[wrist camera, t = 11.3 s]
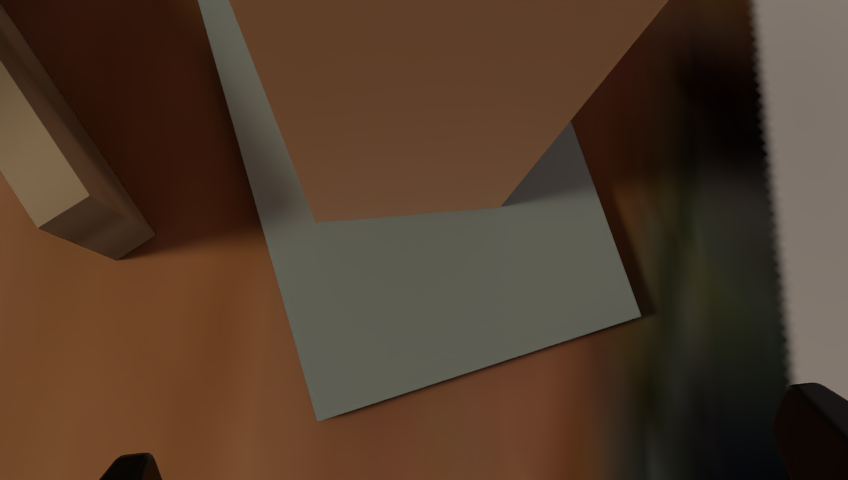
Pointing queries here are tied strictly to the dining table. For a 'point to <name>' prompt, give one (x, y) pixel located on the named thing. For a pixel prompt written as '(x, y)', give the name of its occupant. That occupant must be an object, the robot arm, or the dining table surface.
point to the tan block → (428, 92)
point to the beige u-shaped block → (58, 159)
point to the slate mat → (421, 262)
